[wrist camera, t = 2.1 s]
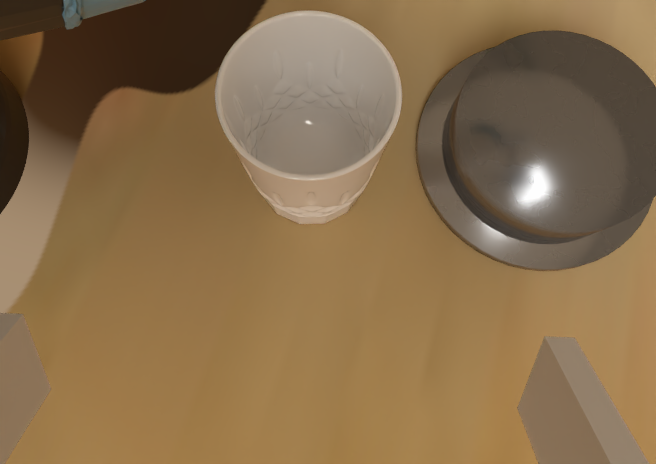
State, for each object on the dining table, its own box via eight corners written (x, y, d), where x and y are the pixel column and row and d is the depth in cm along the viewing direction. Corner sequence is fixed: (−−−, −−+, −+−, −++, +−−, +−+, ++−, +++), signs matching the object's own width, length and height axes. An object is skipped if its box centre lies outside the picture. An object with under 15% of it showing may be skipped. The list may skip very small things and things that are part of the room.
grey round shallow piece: (367, 168, 30) (375, 141, 26) (503, 8, 33) (528, -37, 29) (568, 322, 28) (608, 319, 24) (694, 139, 31) (748, 110, 27)
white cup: (222, 165, 30) (176, 79, 20) (319, 91, 31) (320, -22, 22) (302, 261, 29) (295, 218, 19) (400, 181, 30) (440, 102, 20)
